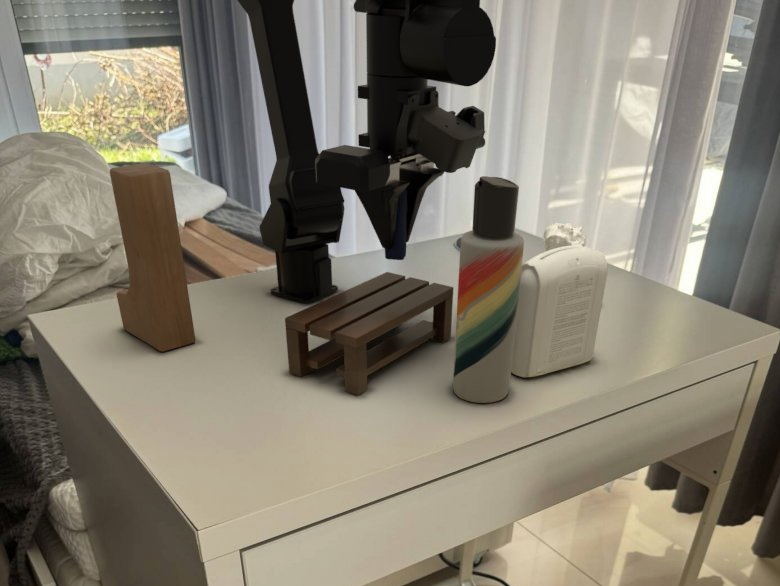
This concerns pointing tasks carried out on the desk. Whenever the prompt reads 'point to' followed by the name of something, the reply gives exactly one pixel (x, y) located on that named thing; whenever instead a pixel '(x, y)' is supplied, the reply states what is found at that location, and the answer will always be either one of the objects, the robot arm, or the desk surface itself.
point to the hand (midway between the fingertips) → (395, 245)
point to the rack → (367, 326)
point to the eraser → (399, 230)
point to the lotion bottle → (488, 294)
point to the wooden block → (152, 258)
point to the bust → (563, 236)
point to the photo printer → (558, 310)
